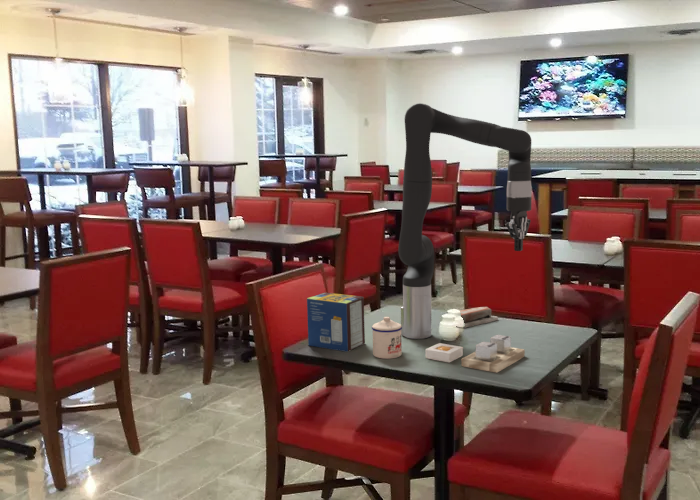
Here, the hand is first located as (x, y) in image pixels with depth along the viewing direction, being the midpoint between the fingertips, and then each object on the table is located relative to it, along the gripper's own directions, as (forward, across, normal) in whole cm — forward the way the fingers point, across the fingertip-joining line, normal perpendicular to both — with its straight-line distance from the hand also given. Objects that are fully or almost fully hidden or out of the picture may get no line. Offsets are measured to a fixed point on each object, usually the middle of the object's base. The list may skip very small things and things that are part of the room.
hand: (518, 250), depth 225 cm
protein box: (+29, +35, -46) cm, 65 cm away
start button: (+28, +29, -10) cm, 42 cm away
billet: (+29, +20, +4) cm, 35 cm away
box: (+29, +29, -10) cm, 42 cm away
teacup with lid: (+29, +34, -26) cm, 52 cm away
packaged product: (+30, -14, -24) cm, 41 cm away
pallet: (+29, +25, +4) cm, 38 cm away
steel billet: (+29, +30, +4) cm, 41 cm away
